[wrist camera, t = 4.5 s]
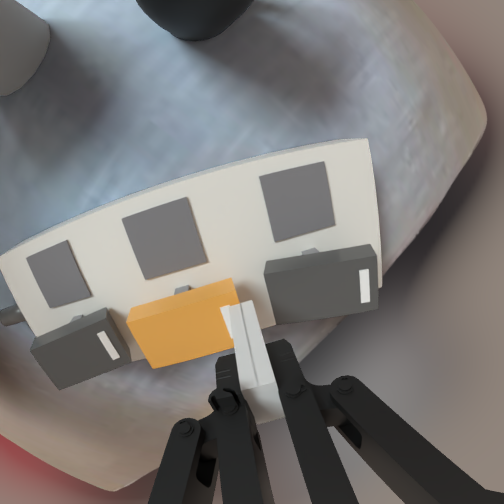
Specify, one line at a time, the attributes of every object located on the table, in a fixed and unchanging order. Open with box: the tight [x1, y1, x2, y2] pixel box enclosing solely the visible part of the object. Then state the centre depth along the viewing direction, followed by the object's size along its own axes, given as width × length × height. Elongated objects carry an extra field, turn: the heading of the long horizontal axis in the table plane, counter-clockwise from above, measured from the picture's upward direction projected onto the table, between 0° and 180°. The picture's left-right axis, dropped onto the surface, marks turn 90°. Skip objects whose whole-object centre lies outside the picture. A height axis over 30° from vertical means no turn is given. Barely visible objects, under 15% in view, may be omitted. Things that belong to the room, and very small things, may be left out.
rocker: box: [263, 244, 378, 325], centre depth 18 cm, size 7×4×2 cm, turn 104°
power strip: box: [0, 138, 382, 361], centre depth 20 cm, size 36×12×6 cm, turn 104°
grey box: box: [30, 307, 132, 390], centre depth 17 cm, size 7×4×2 cm, turn 104°
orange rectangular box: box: [126, 278, 240, 369], centre depth 17 cm, size 7×4×2 cm, turn 104°
